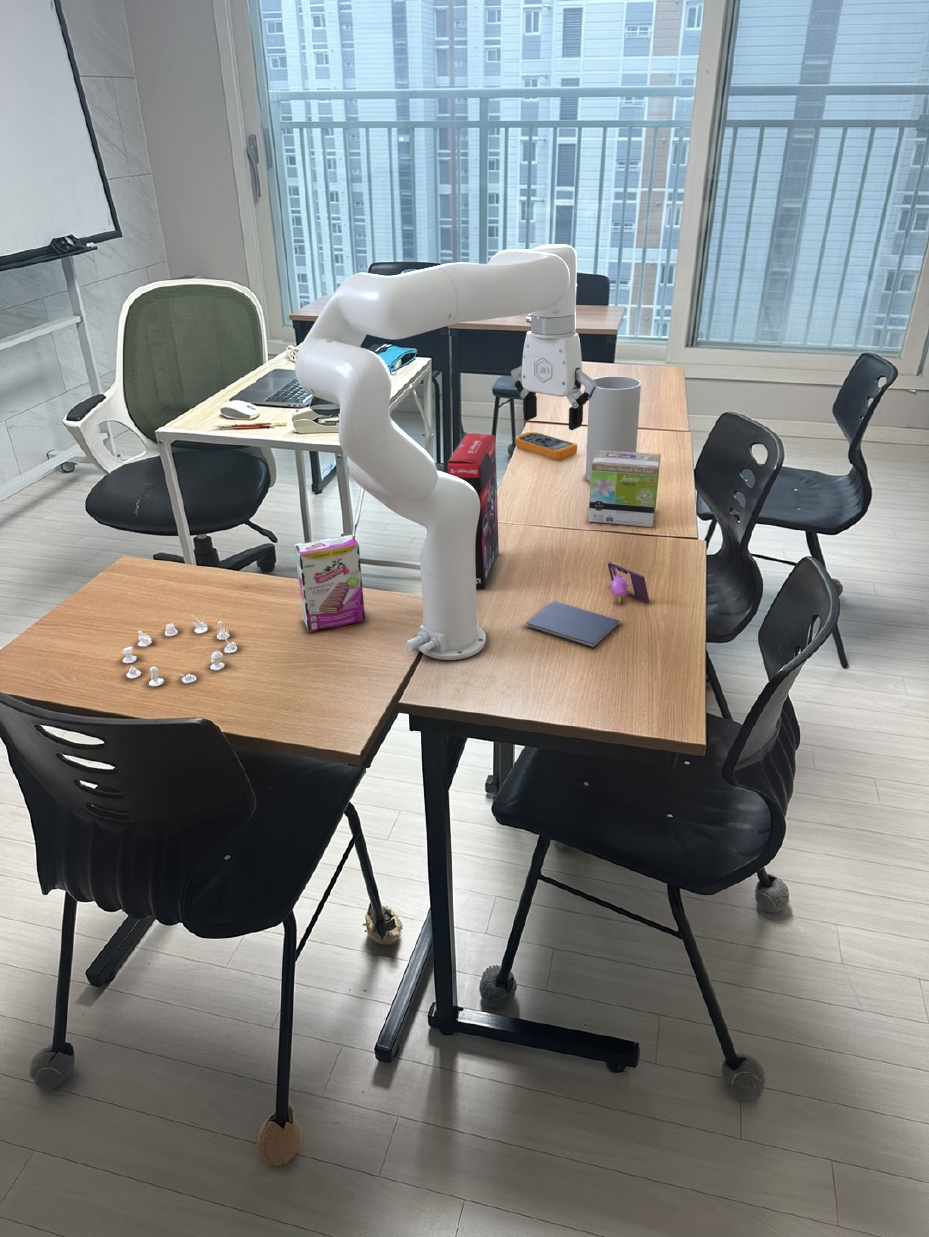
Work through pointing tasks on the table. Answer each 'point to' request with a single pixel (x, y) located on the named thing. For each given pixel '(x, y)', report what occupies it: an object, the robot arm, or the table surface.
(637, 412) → the cylinder vase
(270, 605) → the table surface
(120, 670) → the table surface
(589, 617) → the notebook
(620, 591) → the purple toy package
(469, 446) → the graphics card box
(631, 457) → the tea box
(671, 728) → the table surface
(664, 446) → the table surface
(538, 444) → the multimeter
